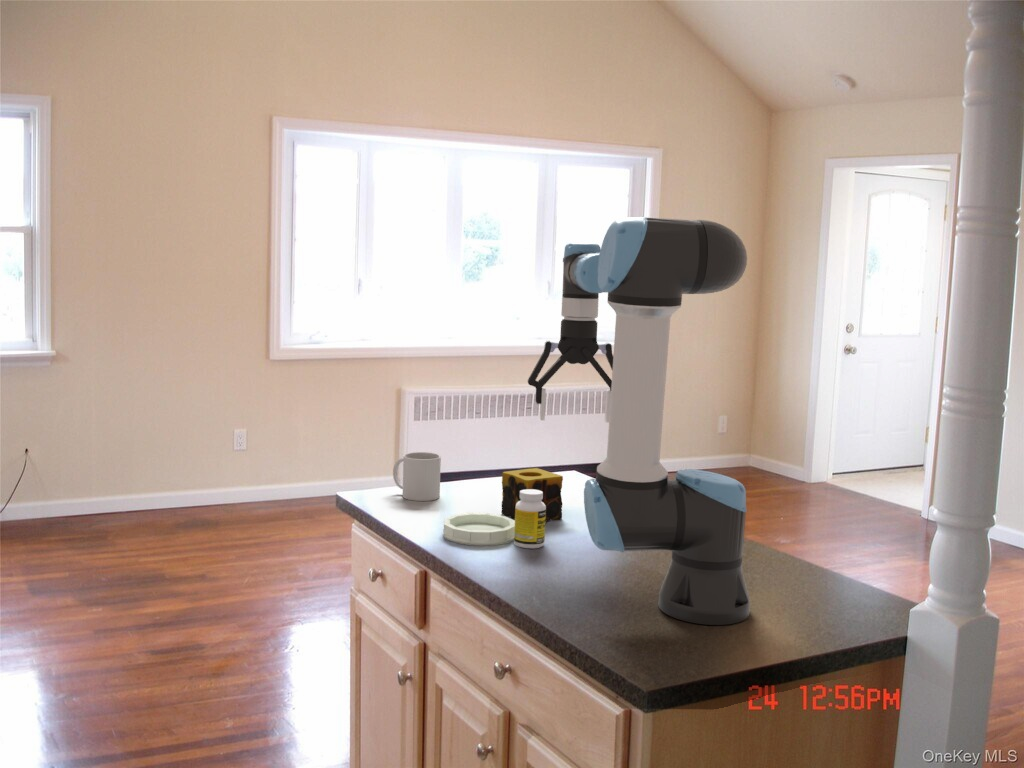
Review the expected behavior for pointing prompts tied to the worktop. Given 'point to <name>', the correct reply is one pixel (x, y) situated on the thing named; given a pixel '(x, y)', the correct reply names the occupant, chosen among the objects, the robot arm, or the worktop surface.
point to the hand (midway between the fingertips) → (574, 420)
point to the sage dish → (479, 529)
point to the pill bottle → (530, 519)
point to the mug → (419, 476)
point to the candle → (532, 480)
